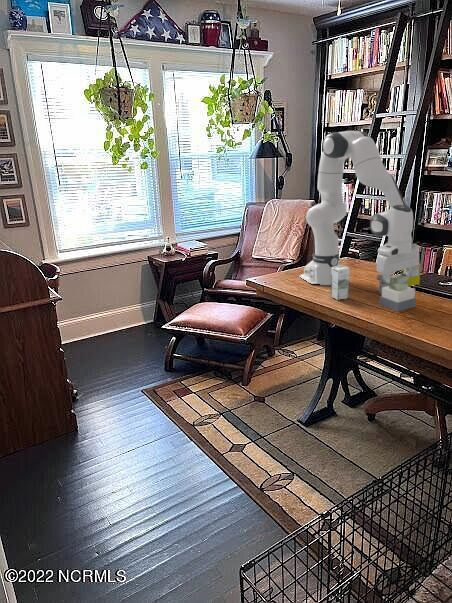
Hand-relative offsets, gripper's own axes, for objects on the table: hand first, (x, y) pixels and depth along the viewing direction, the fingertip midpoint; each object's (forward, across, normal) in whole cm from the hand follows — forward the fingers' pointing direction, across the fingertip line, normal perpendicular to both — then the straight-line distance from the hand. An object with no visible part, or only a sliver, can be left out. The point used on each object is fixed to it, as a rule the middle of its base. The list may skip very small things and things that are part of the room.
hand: (397, 280), depth 184 cm
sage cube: (+4, 0, 0) cm, 4 cm away
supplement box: (+11, -24, -14) cm, 30 cm away
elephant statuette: (+11, -10, -16) cm, 22 cm away
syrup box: (+11, +12, -21) cm, 27 cm away
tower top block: (+8, -1, 0) cm, 8 cm away
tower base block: (+12, 0, 0) cm, 12 cm away
